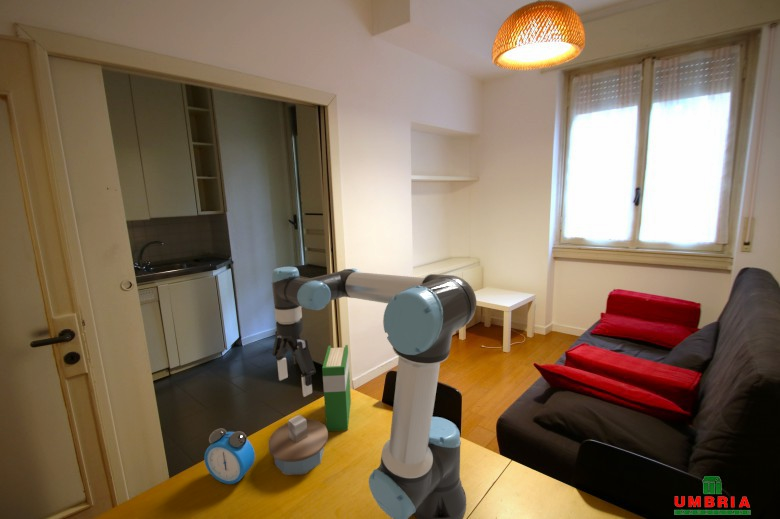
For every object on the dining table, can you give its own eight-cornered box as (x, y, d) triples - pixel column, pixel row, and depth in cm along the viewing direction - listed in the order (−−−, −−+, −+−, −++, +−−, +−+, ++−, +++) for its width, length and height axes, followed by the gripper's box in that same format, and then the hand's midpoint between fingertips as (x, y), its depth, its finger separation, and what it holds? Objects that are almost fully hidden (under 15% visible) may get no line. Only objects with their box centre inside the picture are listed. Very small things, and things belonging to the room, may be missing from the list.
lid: (339, 439, 114) (338, 418, 112) (288, 471, 101) (286, 449, 100) (307, 415, 126) (305, 396, 125) (258, 441, 114) (256, 421, 112)
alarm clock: (206, 480, 107) (199, 435, 104) (221, 465, 112) (215, 422, 110) (245, 489, 103) (239, 442, 100) (258, 472, 109) (253, 428, 106)
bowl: (331, 456, 115) (330, 439, 114) (292, 482, 105) (290, 464, 104) (306, 436, 125) (305, 420, 124) (268, 458, 115) (266, 441, 114)
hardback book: (332, 401, 144) (328, 345, 140) (350, 401, 145) (347, 344, 140) (326, 431, 127) (322, 368, 122) (347, 430, 127) (344, 367, 123)
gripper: (325, 326, 100) (330, 396, 104) (279, 307, 117) (284, 368, 121) (301, 334, 95) (307, 407, 99) (257, 313, 112) (263, 377, 116)
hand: (295, 386), depth 110 cm, fingers open, 13 cm apart
